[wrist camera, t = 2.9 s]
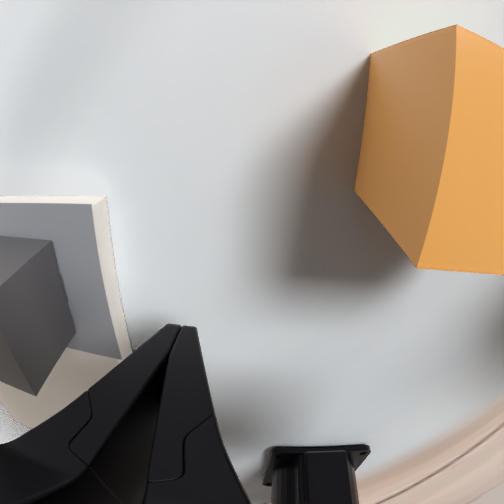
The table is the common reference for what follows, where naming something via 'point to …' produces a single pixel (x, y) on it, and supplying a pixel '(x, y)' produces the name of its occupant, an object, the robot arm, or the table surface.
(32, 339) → the block
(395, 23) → the table surface
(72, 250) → the board
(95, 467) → the robot arm
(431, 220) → the cap
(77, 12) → the table surface
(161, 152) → the table surface
